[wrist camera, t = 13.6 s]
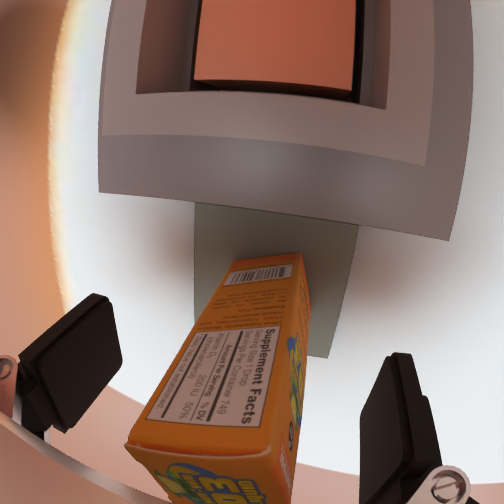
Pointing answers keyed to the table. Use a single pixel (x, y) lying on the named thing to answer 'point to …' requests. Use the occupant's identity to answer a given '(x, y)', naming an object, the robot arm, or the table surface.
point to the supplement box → (233, 392)
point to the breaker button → (277, 46)
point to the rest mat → (271, 244)
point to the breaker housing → (294, 120)
